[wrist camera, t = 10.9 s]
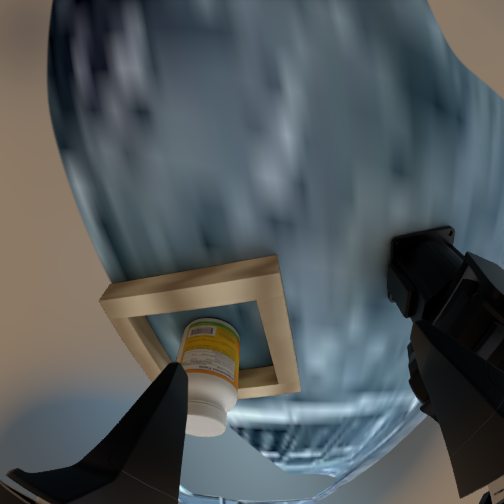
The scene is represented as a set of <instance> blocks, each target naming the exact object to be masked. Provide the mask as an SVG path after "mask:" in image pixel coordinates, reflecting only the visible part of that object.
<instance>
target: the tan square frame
mask: <svg viewBox="0 0 504 504" xmlns="http://www.w3.org/2000/svg"><path fill="white" fill-rule="evenodd" d="M255 300H257V304H258V308H259V312H260V316H261V319H262V323H263V327H264V331H265V334H266V338H267V342H268V346H269V350H270V353H271V357H272V361H273V364H274V366H269V367H261V368H253V369H245V370H239V374H238V393H237V399H244V398H254V397H264V396H272V395H280V394H287V393H294V392H300V391H301V389H300V382H299V374H298V368H297V362H296V356H295V350H294V344H293V338H292V333H291V327H290V321H289V316H288V310H287V305H286V299H285V294H284V289H283V283H282V278H281V273H280V268H279V262H278V257H277V255H273V256H267V257H262V258H256V259H251V260H245V261H240V262H234V263H229V264H223V265H217V266H212V267H206V268H201V269H195V270H189V271H184V272H178V273H172V274H166V275H161V276H155V277H149V278H143V279H138V280H132V281H126V282H120V283H114V284H110V285H109V286H108V288H107V289H106V291H105V292H104V294H103V295H102V297H101V298H100V300H99V302H100V304H101V306H102V308H103V309H104V311H105V313H106V314H107V316H108V318H109V320H110V321H111V323H112V324H113V326H114V328H115V329H116V331H117V332H118V334H119V336H120V337H121V339H122V340H123V342H124V343H125V345H126V346H127V348H128V349H129V351H130V352H131V354H132V355H133V357H134V358H135V359H136V361H137V362H138V364H139V365H140V366H141V368H142V369H143V371H144V372H145V373H146V375H147V376H148V377H149V379H150V380H151V381H152V382H153V381H154V380H155V379H156V378H157V376H158V375H159V374H160V373H161V372H162V371H163V369H164V368H165V367H166V366H167V365H168V364H169V363H171V362H172V361H171V360H170V358H169V356H168V355H167V353H166V352H165V350H164V348H163V347H162V345H161V343H160V341H159V340H158V338H157V336H156V335H155V333H154V331H153V329H152V327H151V326H150V324H149V322H148V320H147V318H146V317H145V315H153V314H162V313H170V312H178V311H186V310H194V309H201V308H208V307H215V306H222V305H229V304H236V303H242V302H249V301H255Z"/></svg>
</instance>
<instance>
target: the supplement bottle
mask: <svg viewBox="0 0 504 504" xmlns="http://www.w3.org/2000/svg"><path fill="white" fill-rule="evenodd" d="M239 355H240V338H239V335H238V333H237V331H236V330H235V329H234V328H233V327H232V326H231V325H230V324H228V323H226V322H224V321H222V320H219V319H214V318H201V319H197V320H195V321H193V322H191V323H190V324H189V325H188V326H187V327H186V328H185V330H184V333H183V336H182V340H181V344H180V348H179V352H178V356H177V360H176V362H179V363H181V365H182V367H183V368H184V370H185V371H186V373H187V375H188V415H187V423H186V431H185V433H187V434H190V435H194V436H200V437H212V436H218V435H220V434H222V433H224V431H225V429H226V418H227V412H229V411H230V410H231V409H232V408H233V407H234V406H235V404H236V401H237V393H238V374H239Z"/></svg>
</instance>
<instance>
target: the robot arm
mask: <svg viewBox="0 0 504 504" xmlns="http://www.w3.org/2000/svg"><path fill="white" fill-rule="evenodd" d="M449 232H450V233H449ZM454 234H455V230H454V229H453V228H452V227H451V226H447V227H442V228H437V229H432V230H427V231H422V232H417V233H412V234H407V235H402V236H397V237H395V238H393V240H392V242H391V262H390V263H389V265H388V280H387V289H388V299H389V300H390V302H396V304H397V306H398V307H399V309H400V311H401V313H402V314H403V316H404V317H405V318H409V317H410V318H411V320H412V322H413V326H412V331H411V335H410V340H411V342H410V343H409V345H408V346H407V349H408V357H409V365H408V366H409V371H410V377H411V378H410V379H409V385H410V387H411V389H412V391H413V392H414V394H415V396H416V397H417V399H418V400H419V401H420V402H421V403H422V404H423V405H422V406H421V407H420V410H421V411H422V412H424V413H425V414H427V415H429V416H431V417H432V418H433V419H434V420H435V421H437V422H438V423H439V425H440V427H441V431H442V434H443V437H444V440H445V443H446V447H447V450H448V453H449V456H450V460H451V464H452V468H453V472H454V476H455V479H456V484H457V488H458V492H459V496H460V499H461V498H463V497H465V496H467V495H469V494H471V493H473V492H475V491H477V490H479V489H481V488H483V487H484V486H486V485H488V487H489V491H488V492H486V493H485V494H484V495H483V496H482V499H481V501H480V502H479V504H504V270H503V269H502V268H501V267H499V266H498V265H497V264H495V263H493V262H490V261H488V260H486V259H484V258H481V257H479V256H477V255H475V254H472V253H470V252H468V251H467V252H466V254H465V256H464V255H462V254H461V253H460V252H459V251H458V250H457V249H456V248H455V247H454V246H453V242H454ZM397 242H399V243H398V244H397V245H396V243H397ZM392 297H393V298H392ZM187 415H188V375H187V373H186V371H185V370H184V368H183V367H182V365H181V363H179V362H171V363H169V364H168V365H167V366H166V367H165V368H164V369H163V371H162V372H161V373H160V374H159V375H158V376H157V378H156V379H155V380H154V381H153V382H152V384H151V385H150V386H149V387H148V388H147V390H146V391H145V392H144V393H143V394H142V395H141V397H140V398H139V399H138V400H137V401H136V402H135V404H134V405H133V406H132V407H131V408H130V409H129V411H128V412H127V413H126V414H125V415H124V417H123V418H122V419H121V420H120V421H119V423H118V424H117V425H116V426H115V427H114V428H113V429H112V430H111V431H110V433H109V434H108V435H107V436H106V437H105V438H104V439H103V440H102V441H101V442H100V443H99V444H98V445H97V446H96V447H95V448H94V449H92V450H91V452H89V453H88V454H87V455H86V456H85V457H84V458H83V459H82V460H80V461H79V462H78V463H76V464H74V465H72V466H70V467H65V468H61V469H55V470H50V471H44V472H38V473H27V472H24V471H23V470H21V469H19V468H16V469H12V470H10V471H8V472H7V473H6V476H8V477H9V478H10V479H12V480H13V481H15V482H16V483H18V484H19V485H21V486H22V487H24V488H25V489H27V490H28V491H30V492H31V493H33V494H35V495H36V496H37V500H34V499H32V498H30V497H28V496H27V495H25V494H23V493H21V492H19V491H18V490H16V489H14V488H13V487H11V486H9V485H8V484H6V483H4V482H3V481H1V480H0V504H178V496H179V486H180V475H181V466H182V456H183V448H184V439H185V431H186V423H187Z"/></svg>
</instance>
